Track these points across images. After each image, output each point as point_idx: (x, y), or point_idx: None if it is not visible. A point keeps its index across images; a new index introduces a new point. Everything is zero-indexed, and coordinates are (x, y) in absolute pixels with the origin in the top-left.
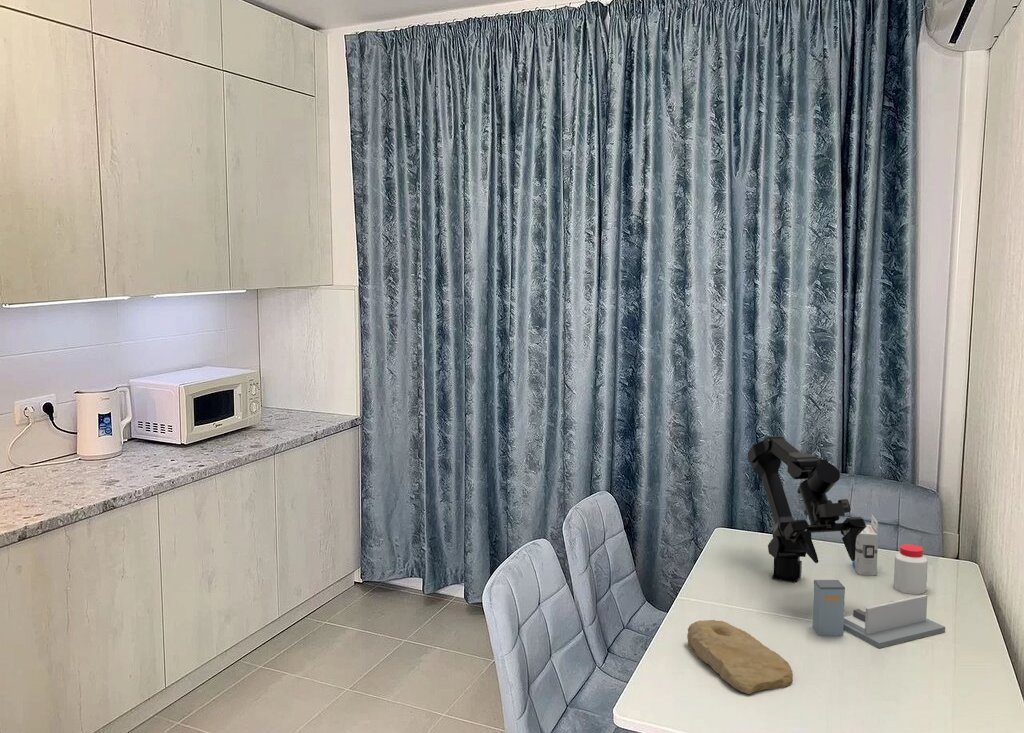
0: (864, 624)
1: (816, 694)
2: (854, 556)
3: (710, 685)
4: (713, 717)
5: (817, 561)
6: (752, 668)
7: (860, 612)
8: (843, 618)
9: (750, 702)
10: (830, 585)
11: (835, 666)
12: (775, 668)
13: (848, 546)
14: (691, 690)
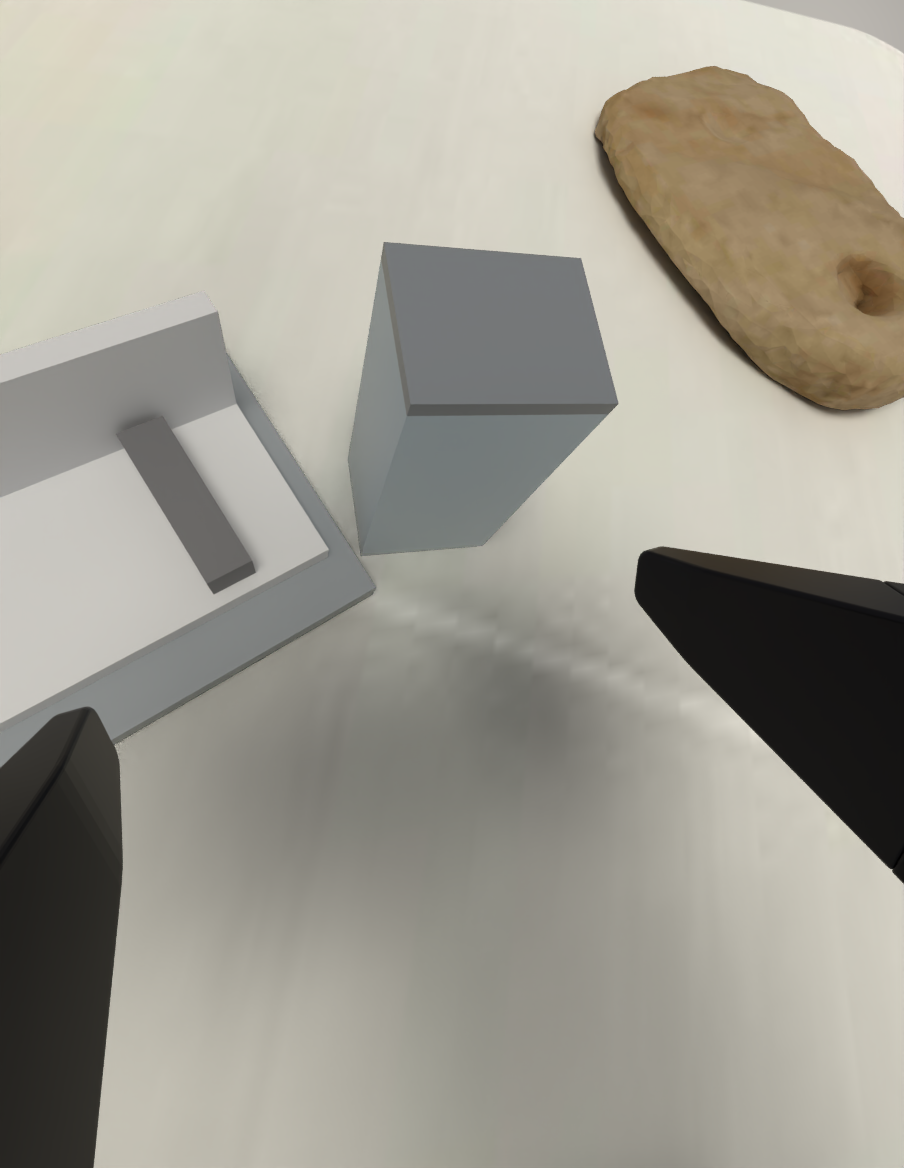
0: (219, 457)
1: (530, 62)
2: (42, 737)
3: None
4: (768, 27)
5: (652, 549)
6: (732, 108)
7: (213, 521)
8: (357, 409)
9: (698, 62)
10: (499, 286)
11: (441, 201)
12: (665, 112)
13: (29, 1075)
14: (832, 134)
